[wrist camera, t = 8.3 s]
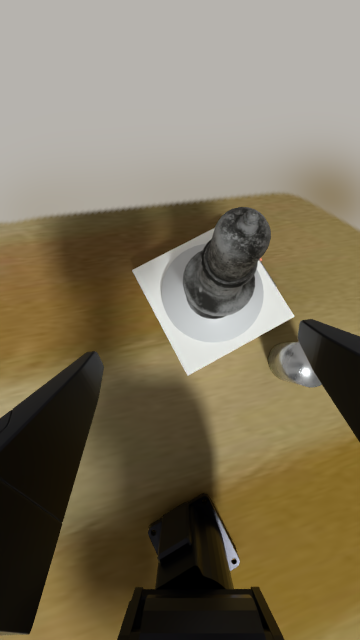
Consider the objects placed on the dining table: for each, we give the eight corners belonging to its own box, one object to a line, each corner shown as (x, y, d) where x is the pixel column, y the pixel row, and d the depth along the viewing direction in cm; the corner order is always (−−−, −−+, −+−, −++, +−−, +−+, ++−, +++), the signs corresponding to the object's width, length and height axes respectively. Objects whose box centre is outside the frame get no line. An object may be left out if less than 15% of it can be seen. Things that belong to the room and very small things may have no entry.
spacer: (313, 369, 22) (341, 373, 18) (281, 387, 22) (302, 395, 18) (292, 336, 23) (315, 332, 19) (261, 353, 22) (277, 354, 19)
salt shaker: (238, 261, 21) (313, 143, 9) (246, 319, 20) (340, 274, 8) (180, 266, 21) (176, 154, 9) (185, 324, 20) (188, 286, 8)
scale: (287, 317, 23) (303, 312, 20) (187, 373, 22) (187, 376, 19) (232, 229, 25) (239, 212, 22) (137, 278, 24) (130, 267, 21)
